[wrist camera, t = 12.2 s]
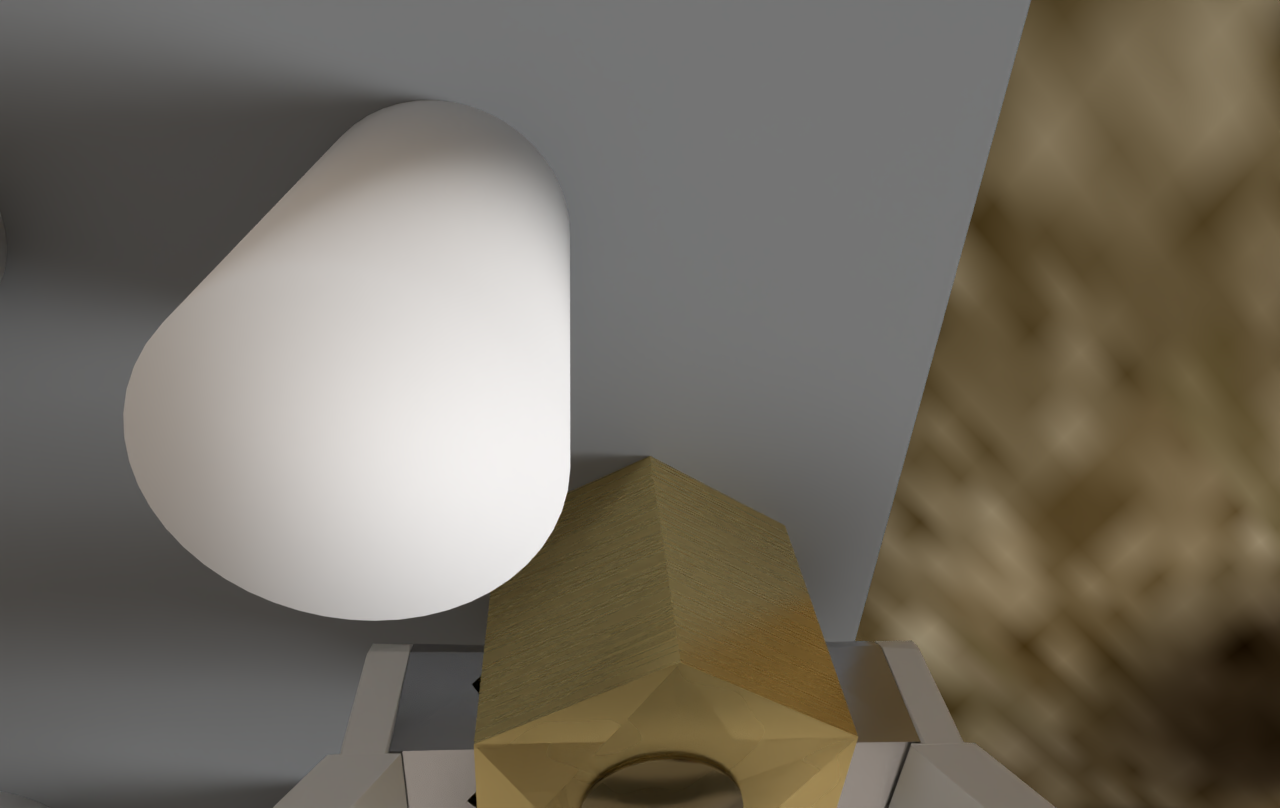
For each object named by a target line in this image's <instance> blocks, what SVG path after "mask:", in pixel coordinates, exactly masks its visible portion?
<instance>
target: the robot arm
mask: <svg viewBox="0 0 1280 808" xmlns="http://www.w3.org/2000/svg"><path fill="white" fill-rule="evenodd" d="M825 643H826V645H827V648H828V651H829V654H830V657H831V660H832V663H833V666H834V668H835V671H836V674H837V677H838V680H839V683H840V686H841V689H842V692H843V694H844V697H845V700H846V703H847V706H848V709H849V712H850V715H851V717H852V720H853V723H854V726H855V729H856V732H857V735H858V739H857V743H856V746H855V749H854V752H853V756H852V759H851V762H850V766H849V769H848V772H847V775H846V779H845V782H844V785H843V789H842V792H841V795H840V798H839V802H838V805H837V808H1056V807H1054V806H1053V805H1052V804H1051V803H1049V802H1048V801H1047V800H1046V799H1044V798H1043V797H1042V796H1041V795H1039V794H1038V793H1037V792H1036V791H1034V790H1033V789H1032V788H1031V787H1029V786H1028V785H1027V784H1026V783H1024V782H1023V781H1022V780H1021V779H1019V778H1018V777H1017V776H1016V775H1014V774H1013V773H1012V772H1011V771H1009V770H1008V769H1007V768H1006V767H1004V766H1003V765H1002V764H1001V763H999V762H998V761H997V760H996V759H994V758H993V757H992V756H991V755H989V754H988V753H987V752H986V751H984V750H983V749H982V748H981V747H979V746H978V745H977V744H976V743H964V742H963V740H962V738H961V736H960V734H959V732H958V729H957V727H956V725H955V723H954V721H953V719H952V717H951V715H950V713H949V711H948V708H947V706H946V704H945V702H944V700H943V698H942V696H941V694H940V692H939V690H938V687H937V685H936V683H935V681H934V679H933V677H932V675H931V673H930V671H929V669H928V666H927V664H926V662H925V660H924V658H923V656H922V654H921V652H920V650H919V648H918V646H917V645H916V644H915V643H914V642H912V641H875V642H872V641H844V642H825ZM484 646H485V645H455V644H373V645H372V646H371V648H370V650H369V651H368V653H367V656H366V659H365V663H364V667H363V670H362V674H361V678H360V681H359V685H358V689H357V693H356V696H355V700H354V704H353V707H352V711H351V715H350V718H349V722H348V726H347V729H346V733H345V737H344V741H343V744H342V748H341V752H340V754H331V755H327V756H326V757H325V758H324V759H322V760H321V761H320V762H319V763H318V764H317V765H316V766H315V767H314V768H313V769H312V770H311V771H310V772H309V773H308V774H307V775H306V776H305V777H304V778H303V779H302V780H301V781H300V782H299V783H298V784H297V785H296V786H295V787H294V788H292V789H291V790H290V791H289V792H288V793H287V794H286V795H285V796H284V797H283V798H282V799H281V800H280V801H279V802H278V803H277V804H276V805H275V806H274V807H273V808H477V798H476V779H475V759H474V737H475V728H476V719H477V710H478V701H479V692H480V683H481V674H482V665H483V655H484Z"/></svg>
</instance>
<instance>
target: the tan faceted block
mask: <svg viewBox="0 0 1280 808" xmlns="http://www.w3.org/2000/svg"><path fill="white" fill-rule="evenodd" d="M857 739H858V735H857V732H856V729H855V726H854V723H853V720H852V717H851V715H850V712H849V709H848V706H847V703H846V700H845V697H844V694H843V692H842V689H841V686H840V683H839V680H838V677H837V674H836V671H835V668H834V666H833V663H832V660H831V657H830V654H829V651H828V648H827V645H826V643H825V640H824V637H823V634H822V631H821V628H820V625H819V622H818V619H817V617H816V614H815V611H814V608H813V605H812V602H811V599H810V596H809V593H808V591H807V588H806V585H805V582H804V579H803V576H802V573H801V570H800V568H799V565H798V562H797V559H796V556H795V553H794V550H793V547H792V544H791V542H790V539H789V536H788V533H787V530H786V527H785V525H783V524H781V523H779V522H777V521H775V520H773V519H771V518H770V517H768V516H766V515H764V514H762V513H760V512H758V511H756V510H754V509H752V508H750V507H748V506H746V505H744V504H742V503H740V502H738V501H737V500H735V499H733V498H731V497H729V496H727V495H725V494H723V493H721V492H719V491H717V490H715V489H713V488H711V487H709V486H707V485H705V484H704V483H702V482H700V481H698V480H696V479H694V478H692V477H690V476H688V475H686V474H684V473H682V472H680V471H678V470H676V469H674V468H672V467H671V466H669V465H667V464H665V463H663V462H661V461H659V460H657V459H655V458H653V457H651V456H649V457H646V458H644V459H642V460H640V461H637V462H635V463H633V464H631V465H628V466H626V467H624V468H622V469H619V470H617V471H615V472H613V473H611V474H608V475H606V476H604V477H602V478H599V479H597V480H595V481H593V482H590V483H588V484H586V485H584V486H581V487H579V488H577V489H575V490H572V491H570V492H568V493H567V495H566V498H565V502H564V506H563V509H562V512H561V514H560V516H559V519H558V521H557V523H556V525H555V527H554V530H553V531H552V533H551V534H550V536H549V537H548V539H547V540H546V542H545V544H544V545H543V547H542V548H541V549H540V550H539V552H538V553H537V554H536V555H535V556H534V557H533V558H532V559H531V561H530V562H529V563H528V564H527V565H526V566H525V567H524V568H522V569H521V570H520V571H519V572H518V573H517V574H515V575H514V576H513V577H512V578H511V579H509V580H508V581H506V582H505V583H503V584H502V585H500V586H499V587H497V588H496V589H494V590H493V591H491V592H490V601H489V610H488V619H487V628H486V637H485V646H484V655H483V665H482V674H481V683H480V692H479V701H478V710H477V719H476V728H475V737H474V759H475V779H476V798H477V808H837V805H838V802H839V798H840V795H841V792H842V789H843V785H844V782H845V779H846V775H847V772H848V769H849V766H850V762H851V759H852V756H853V752H854V749H855V746H856V743H857Z"/></svg>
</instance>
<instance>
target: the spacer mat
mask: <svg viewBox="0 0 1280 808" xmlns="http://www.w3.org/2000/svg"><path fill="white" fill-rule="evenodd" d="M1030 2H1031V0H0V808H273V807H274V806H275V805H276V804H277V803H278V802H279V801H280V800H281V799H282V798H283V797H284V796H285V795H286V794H287V793H288V792H289V791H290V790H291V789H292V788H294V787H295V786H296V785H297V784H298V783H299V782H300V781H301V780H302V779H303V778H304V777H305V776H306V775H307V774H308V773H309V772H310V771H311V770H312V769H313V768H314V767H315V766H316V765H317V764H318V763H319V762H320V761H321V760H322V759H324V758H325V757H326V756H327V755H331V754H340V752H341V748H342V744H343V741H344V737H345V733H346V729H347V726H348V722H349V718H350V715H351V711H352V707H353V704H354V700H355V696H356V693H357V689H358V685H359V681H360V678H361V674H362V670H363V667H364V663H365V659H366V656H367V653H368V651H369V650H370V648H371V646H372V645H373V644H455V645H485V637H486V628H487V619H488V610H489V601H490V592H491V591H493V590H494V589H496V588H497V587H499V586H500V585H502V584H503V583H505V582H506V581H508V580H509V579H511V578H512V577H513V576H514V575H515V574H517V573H518V572H519V571H520V570H521V569H522V568H524V567H525V566H526V565H527V564H528V563H529V562H530V561H531V559H532V558H533V557H534V556H535V555H536V554H537V553H538V552H539V550H540V549H541V548H542V547H543V545H544V544H545V542H546V540H547V539H548V537H549V536H550V534H551V533H552V531H553V530H554V527H555V525H556V523H557V521H558V519H559V516H560V514H561V512H562V509H563V506H564V502H565V498H566V495H567V493H568V492H570V491H572V490H575V489H577V488H579V487H581V486H584V485H586V484H588V483H590V482H593V481H595V480H597V479H599V478H602V477H604V476H606V475H608V474H611V473H613V472H615V471H617V470H619V469H622V468H624V467H626V466H628V465H631V464H633V463H635V462H637V461H640V460H642V459H644V458H646V457H649V456H651V457H653V458H655V459H657V460H659V461H661V462H663V463H665V464H667V465H669V466H671V467H672V468H674V469H676V470H678V471H680V472H682V473H684V474H686V475H688V476H690V477H692V478H694V479H696V480H698V481H700V482H702V483H704V484H705V485H707V486H709V487H711V488H713V489H715V490H717V491H719V492H721V493H723V494H725V495H727V496H729V497H731V498H733V499H735V500H737V501H738V502H740V503H742V504H744V505H746V506H748V507H750V508H752V509H754V510H756V511H758V512H760V513H762V514H764V515H766V516H768V517H770V518H771V519H773V520H775V521H777V522H779V523H781V524H783V525H785V527H786V530H787V533H788V536H789V539H790V542H791V544H792V547H793V550H794V553H795V556H796V559H797V562H798V565H799V568H800V570H801V573H802V576H803V579H804V582H805V585H806V588H807V591H808V593H809V596H810V599H811V602H812V605H813V608H814V611H815V614H816V617H817V619H818V622H819V625H820V628H821V631H822V634H823V637H824V640H825V642H844V641H855V638H856V635H857V631H858V627H859V624H860V620H861V616H862V613H863V609H864V605H865V602H866V598H867V595H868V591H869V587H870V584H871V580H872V576H873V573H874V569H875V565H876V562H877V558H878V555H879V551H880V547H881V544H882V540H883V536H884V533H885V529H886V525H887V522H888V518H889V515H890V511H891V507H892V504H893V500H894V496H895V493H896V489H897V485H898V482H899V478H900V475H901V471H902V467H903V464H904V460H905V456H906V453H907V449H908V445H909V442H910V438H911V434H912V431H913V427H914V424H915V420H916V416H917V413H918V409H919V405H920V402H921V398H922V394H923V391H924V387H925V384H926V380H927V376H928V373H929V369H930V365H931V362H932V358H933V354H934V351H935V347H936V344H937V340H938V336H939V333H940V329H941V325H942V322H943V318H944V314H945V311H946V307H947V304H948V300H949V296H950V293H951V289H952V285H953V282H954V278H955V274H956V271H957V267H958V264H959V260H960V256H961V253H962V249H963V245H964V242H965V238H966V234H967V231H968V227H969V224H970V220H971V216H972V213H973V209H974V205H975V202H976V198H977V194H978V191H979V187H980V184H981V180H982V176H983V173H984V169H985V165H986V162H987V158H988V154H989V151H990V147H991V144H992V140H993V136H994V133H995V129H996V125H997V122H998V118H999V114H1000V111H1001V107H1002V104H1003V100H1004V96H1005V93H1006V89H1007V85H1008V82H1009V78H1010V74H1011V71H1012V67H1013V64H1014V60H1015V56H1016V53H1017V49H1018V45H1019V42H1020V38H1021V34H1022V31H1023V27H1024V24H1025V20H1026V16H1027V13H1028V9H1029V5H1030Z"/></svg>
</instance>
